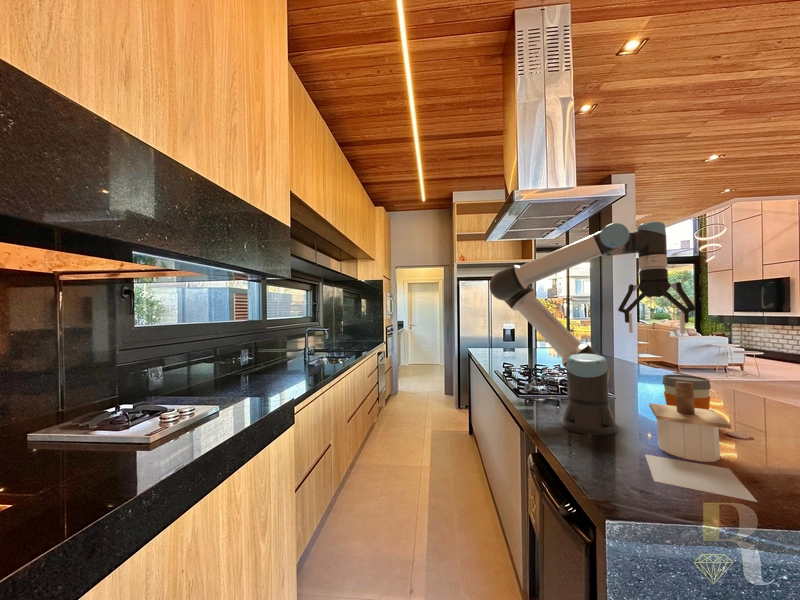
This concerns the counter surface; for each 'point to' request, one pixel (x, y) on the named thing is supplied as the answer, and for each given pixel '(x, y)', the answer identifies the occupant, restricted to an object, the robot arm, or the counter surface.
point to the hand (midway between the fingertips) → (655, 333)
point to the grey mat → (697, 477)
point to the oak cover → (687, 409)
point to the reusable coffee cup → (699, 387)
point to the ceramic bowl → (689, 440)
